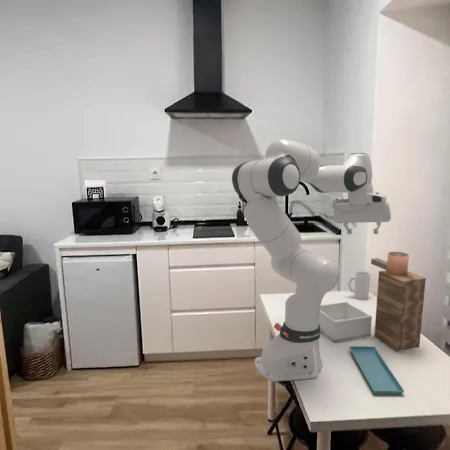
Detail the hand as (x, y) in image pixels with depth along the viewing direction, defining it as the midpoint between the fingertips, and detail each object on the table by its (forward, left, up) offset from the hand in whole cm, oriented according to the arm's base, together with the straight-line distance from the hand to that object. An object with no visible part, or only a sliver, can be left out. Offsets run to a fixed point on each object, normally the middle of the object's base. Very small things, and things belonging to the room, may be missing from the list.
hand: (362, 233), depth 153 cm
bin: (-5, +3, -39) cm, 40 cm away
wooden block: (+9, -12, -39) cm, 42 cm away
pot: (+9, -5, -13) cm, 16 cm away
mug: (+23, +30, -39) cm, 54 cm away
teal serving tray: (-12, -26, -40) cm, 49 cm away
